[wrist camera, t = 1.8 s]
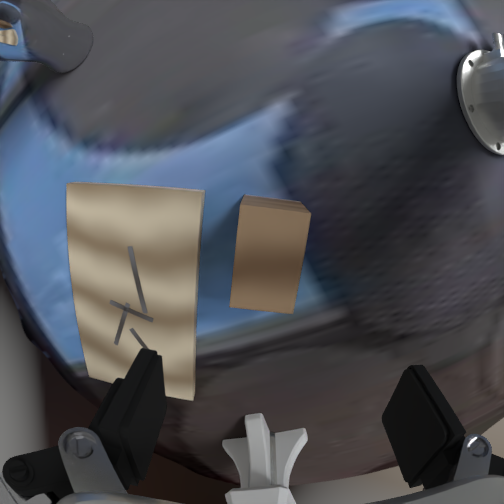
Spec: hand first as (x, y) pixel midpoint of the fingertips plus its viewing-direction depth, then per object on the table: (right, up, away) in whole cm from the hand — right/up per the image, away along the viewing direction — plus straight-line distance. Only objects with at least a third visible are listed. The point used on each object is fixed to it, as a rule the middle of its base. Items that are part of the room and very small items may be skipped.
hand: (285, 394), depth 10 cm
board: (-14, 0, +20) cm, 24 cm away
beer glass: (-21, +27, +12) cm, 36 cm away
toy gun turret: (+1, -22, +27) cm, 34 cm away
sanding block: (0, +6, +18) cm, 19 cm away
